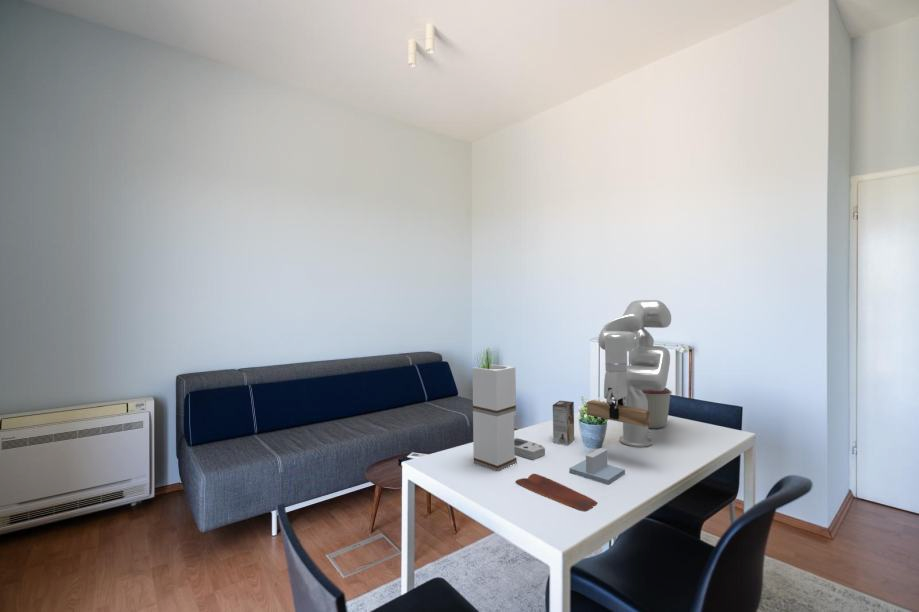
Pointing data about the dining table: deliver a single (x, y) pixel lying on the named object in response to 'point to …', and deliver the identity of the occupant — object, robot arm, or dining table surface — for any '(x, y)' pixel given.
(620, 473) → the ridge stand
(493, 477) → the dining table surface
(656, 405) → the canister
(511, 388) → the tall square planter
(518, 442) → the handheld gaming device
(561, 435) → the coffee box
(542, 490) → the wooden tablet
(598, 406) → the walnut batten
